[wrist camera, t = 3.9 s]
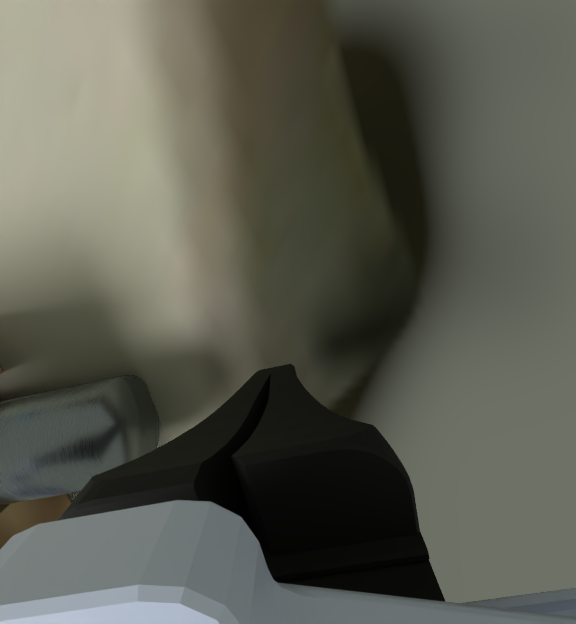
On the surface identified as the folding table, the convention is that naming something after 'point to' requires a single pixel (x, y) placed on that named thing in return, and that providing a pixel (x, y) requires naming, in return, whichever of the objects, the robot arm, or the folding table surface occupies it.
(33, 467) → the axle
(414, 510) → the robot arm
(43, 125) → the folding table surface
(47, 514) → the beam
